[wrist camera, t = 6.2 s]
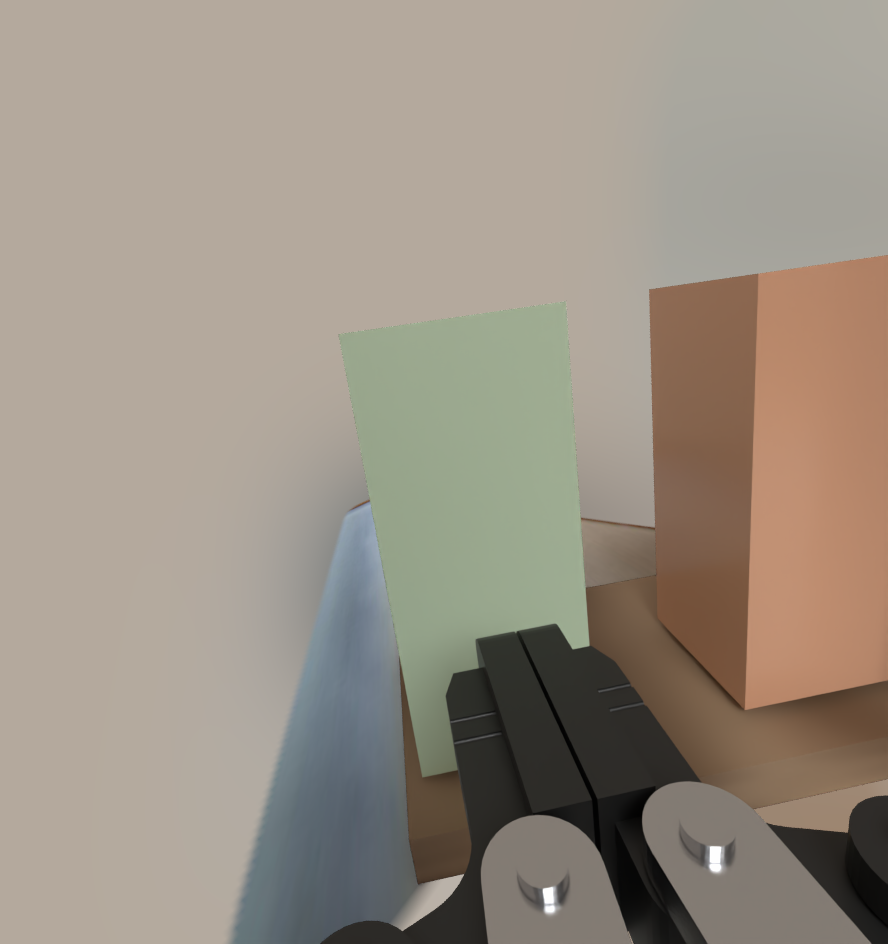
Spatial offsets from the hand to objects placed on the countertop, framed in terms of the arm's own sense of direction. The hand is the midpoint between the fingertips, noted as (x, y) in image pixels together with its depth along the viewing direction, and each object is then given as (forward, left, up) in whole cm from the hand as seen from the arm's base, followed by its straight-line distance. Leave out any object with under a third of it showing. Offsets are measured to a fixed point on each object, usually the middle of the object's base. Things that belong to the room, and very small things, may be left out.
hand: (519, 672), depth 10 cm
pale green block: (0, -6, -6) cm, 8 cm away
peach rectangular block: (-10, -6, -6) cm, 13 cm away
